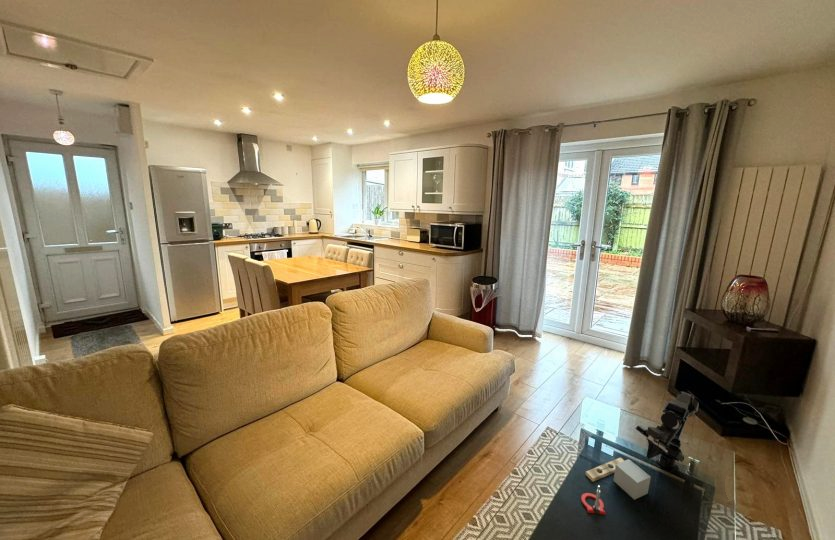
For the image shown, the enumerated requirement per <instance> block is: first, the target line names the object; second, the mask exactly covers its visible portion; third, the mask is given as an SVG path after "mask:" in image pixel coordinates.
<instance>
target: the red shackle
mask: <svg viewBox="0 0 835 540" xmlns="http://www.w3.org/2000/svg"><path fill="white" fill-rule="evenodd" d="M600 496H601V486H600V485H597V490H596V494H593V493H591V492H590V493H589V492H584V493H583V494H581V498H580V499H581V500H580V501H581V503H582V505H583V506H584V507H585V508H586V511H587V513H589V514H594V515H595V514H596V515H604V516H605V515H606V511H605V510H604V506H605V504H604V502H603V500H602V499H601V498H600ZM587 498H592V499H594V505H593V506H591V505H590V504H589V503H588V502H587V501H586V499H587Z"/></svg>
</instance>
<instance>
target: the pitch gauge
mask: <svg viewBox="0 0 835 540" xmlns="http://www.w3.org/2000/svg"><path fill="white" fill-rule="evenodd" d="M625 460H626V459H625ZM625 460H624V459H623V458H622V457H618V458H616V459H613V460H611V461H608V462H605V463H603V464H601V465H598V466H596V467H594V468H592V469H589V470H586V471H585V475H586V476H587V478H588V479H590V481H591V482H596V481H597V480H601V479H602V478H605V477H608V476H610V475H612V474H614V473H615V467H616V464H618V463H621V462H623V461H625Z"/></svg>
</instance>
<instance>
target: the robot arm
mask: <svg viewBox="0 0 835 540" xmlns="http://www.w3.org/2000/svg"><path fill="white" fill-rule="evenodd" d="M699 405H700V404H699V401H698V400H697V399H696V398H695V396H694V395H693V394H691V393H688V392H685V391H680V392H679V393H678V394H677V396H676V398H675V399H670V400H669V401H667V402H666V404H665V406H663V407H664V408H663V409H662V413H663V414H661V416H660V421H661V424H660V425H657V426H656V427H654V426H653V427H652V426H648V428H647V429H646V428H645V427H644V426H642V425H640V424H639V425H637V426H636V427H635V430H636V431H637V432H638V433H640V434H641V435H643V436H644V437H645V439H646V440H647V444H648V445H647V452H646V455H645V456H646V458H647V459H649V460H650V459H653V458H654V457H658V456H659V455H660V457H659V458H658V459H656V460H655V462H656V463H657V462H658V463H659V465H660V466H662V468H663V469H665V470H666V471H668V472H672V471H675V470H677V469H679V468H678V467H680V466H678V465H677V464H676V463H677V462H681V463H683V462H684V460H685V455H684V454H683V450H682V448H681V447H682V444H681V440H680V438H681V436H682V435H683V432H684V429H685V426H686V424H687V421H688V419H689V418H690V417H694V415H695V413H698V411H699ZM659 459H660V461H659ZM658 463H657V464H658ZM676 468H677V469H676ZM674 469H675V470H674Z"/></svg>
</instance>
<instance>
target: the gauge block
mask: <svg viewBox="0 0 835 540" xmlns="http://www.w3.org/2000/svg"><path fill="white" fill-rule="evenodd" d="M613 474H614V475H613V479H612V480H613V482H614V483H615V484H616V485H617V486H619V487H620V488H621V489H622V490H623V491H624V492H626V494H627V495H629V496H630V497H631V498H632V499H633V500H634V501H635V500H636V499H639V498H641V497H643V496H645V495H647V494H649V489H650V484H651V478H652V477H651V475H649V474H648V473H647V472H645V471H644V470H643V469H642V468H640V467H639V466H638V465H637V464H636V463H634V462H633V461H632V460H630V459H628V458H627V459H625V461H623V462H621V463H618V464H616V467H615V472H614V473H613Z"/></svg>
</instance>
